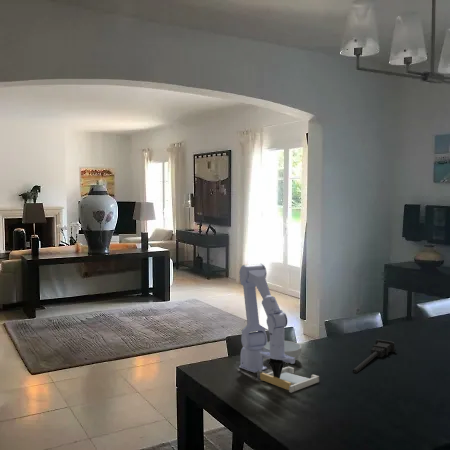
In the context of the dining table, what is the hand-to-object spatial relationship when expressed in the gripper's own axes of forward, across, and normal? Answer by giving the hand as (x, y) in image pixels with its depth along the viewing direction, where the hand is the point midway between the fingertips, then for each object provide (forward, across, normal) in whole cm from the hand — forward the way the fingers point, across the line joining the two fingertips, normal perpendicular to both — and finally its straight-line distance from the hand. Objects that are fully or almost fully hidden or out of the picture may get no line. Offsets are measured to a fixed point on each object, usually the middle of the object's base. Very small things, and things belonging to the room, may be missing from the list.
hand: (277, 378), depth 199 cm
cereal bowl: (+2, +11, -24) cm, 27 cm away
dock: (+2, -2, -4) cm, 5 cm away
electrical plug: (+2, -22, -48) cm, 53 cm away
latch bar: (+1, 0, +2) cm, 3 cm away
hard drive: (+3, -4, -6) cm, 7 cm away
